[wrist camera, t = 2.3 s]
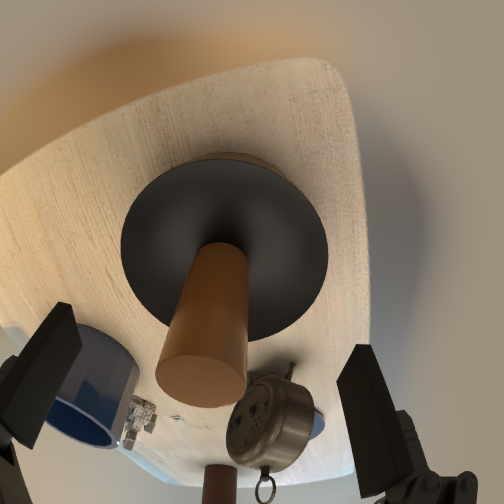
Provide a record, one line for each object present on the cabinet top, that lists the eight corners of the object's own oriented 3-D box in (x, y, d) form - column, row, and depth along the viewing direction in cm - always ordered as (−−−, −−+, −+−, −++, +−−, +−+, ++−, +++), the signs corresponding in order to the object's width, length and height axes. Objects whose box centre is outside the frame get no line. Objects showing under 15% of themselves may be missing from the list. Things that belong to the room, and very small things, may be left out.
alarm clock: (256, 403, 35) (257, 513, 21) (221, 391, 34) (211, 508, 20) (309, 360, 31) (330, 493, 17) (271, 344, 30) (279, 491, 15)
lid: (94, 208, 18) (-3, 292, 8) (285, 121, 15) (331, 135, 6) (184, 348, 23) (160, 454, 14) (342, 302, 21) (384, 417, 12)
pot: (42, 332, 30) (7, 387, 21) (98, 314, 28) (58, 385, 19) (95, 390, 36) (74, 444, 27) (157, 384, 34) (140, 452, 24)
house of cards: (161, 433, 41) (154, 469, 34) (116, 412, 39) (105, 449, 32) (185, 418, 38) (178, 461, 31) (134, 394, 35) (120, 438, 29)
